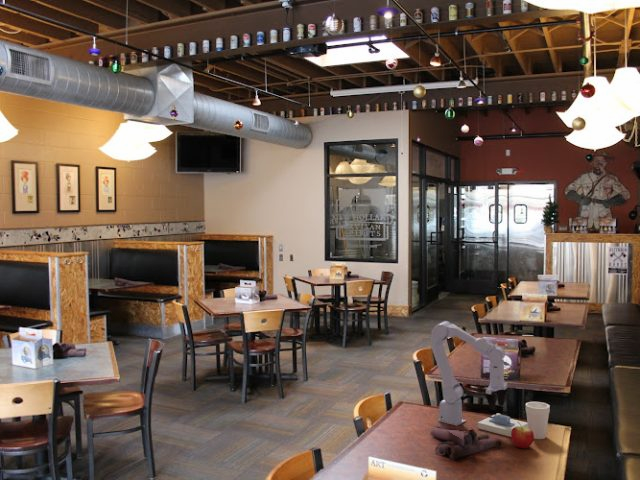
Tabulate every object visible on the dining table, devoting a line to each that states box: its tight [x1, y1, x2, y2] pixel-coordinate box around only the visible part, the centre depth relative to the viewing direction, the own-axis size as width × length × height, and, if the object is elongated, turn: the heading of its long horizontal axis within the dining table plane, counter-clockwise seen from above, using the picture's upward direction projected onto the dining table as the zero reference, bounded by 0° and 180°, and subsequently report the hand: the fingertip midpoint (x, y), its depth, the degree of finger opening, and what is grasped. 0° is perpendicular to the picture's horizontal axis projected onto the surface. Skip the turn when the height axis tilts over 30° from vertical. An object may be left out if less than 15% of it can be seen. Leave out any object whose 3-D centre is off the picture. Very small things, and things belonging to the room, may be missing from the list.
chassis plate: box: [477, 414, 528, 438], centre depth 270 cm, size 16×14×2 cm
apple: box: [510, 422, 535, 449], centre depth 248 cm, size 8×8×10 cm
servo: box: [487, 413, 515, 427], centre depth 270 cm, size 12×3×6 cm, turn 46°
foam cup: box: [525, 401, 551, 440], centre depth 260 cm, size 10×9×13 cm
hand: (496, 407), depth 269 cm, fingers open, 7 cm apart
